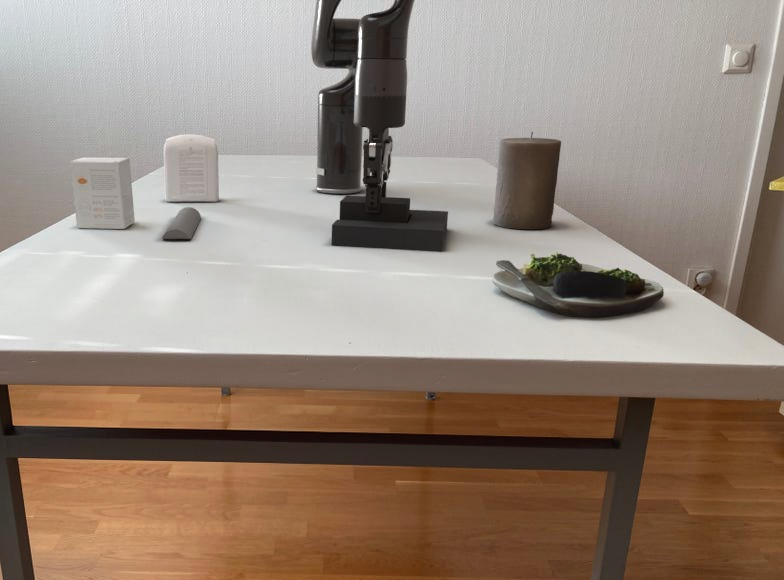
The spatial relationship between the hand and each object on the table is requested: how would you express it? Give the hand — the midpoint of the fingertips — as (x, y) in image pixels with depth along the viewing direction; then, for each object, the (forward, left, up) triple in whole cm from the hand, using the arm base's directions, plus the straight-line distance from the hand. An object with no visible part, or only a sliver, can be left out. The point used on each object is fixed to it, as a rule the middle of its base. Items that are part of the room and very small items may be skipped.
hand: (375, 208), depth 119 cm
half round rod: (+2, -31, -4) cm, 31 cm away
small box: (+3, -43, -4) cm, 44 cm away
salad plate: (+28, +27, -4) cm, 39 cm away
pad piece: (0, 0, -2) cm, 2 cm away
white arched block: (-24, -38, -4) cm, 45 cm away
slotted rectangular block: (0, +3, -4) cm, 5 cm away
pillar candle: (-16, +23, -4) cm, 28 cm away
